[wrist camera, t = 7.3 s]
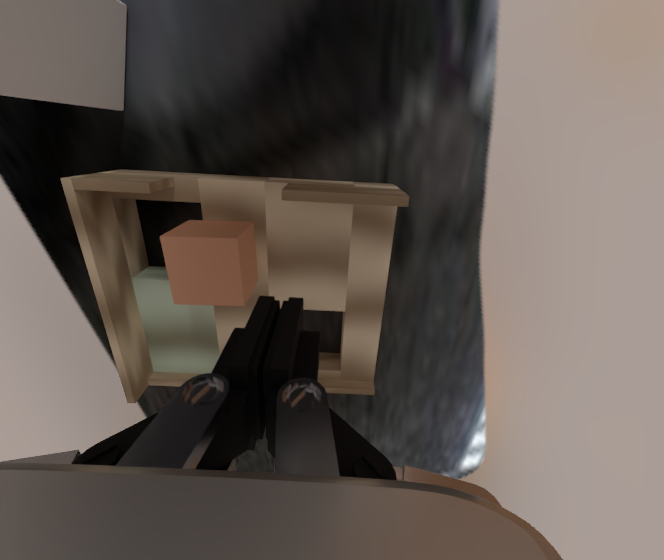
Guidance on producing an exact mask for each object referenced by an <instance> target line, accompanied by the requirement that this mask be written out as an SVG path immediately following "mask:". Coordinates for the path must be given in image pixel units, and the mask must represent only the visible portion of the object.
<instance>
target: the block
mask: <svg viewBox="0 0 664 560" xmlns="http://www.w3.org/2000/svg"><path fill="white" fill-rule="evenodd" d="M160 241H161V245H162V250H163V255H164V259H165V264H166V269H167V274H168V278H169V283H170V288H171V292H172V297H173V302H174V304H181V305H220V306H245V304H246V302H247V300H248V298H249V296H250V295H251V293H252V291H253V289H254V287H255V285H256V284H257V282H258V271H257V258H256V246H255V234H254V222H248V221H210V220H188V221H186V222H184V223H183V224H181V225H179V226H177V227H175V228H174V229H172V230H170V231H168V232H167V233H165V234H163V235H161V236H160Z"/></svg>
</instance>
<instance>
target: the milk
mask: <svg viewBox="0 0 664 560" xmlns="http://www.w3.org/2000/svg"><path fill="white" fill-rule="evenodd" d="M126 18H127V6H126V5H125V4H124V3H122V2H121V1H119V0H0V95H3V96H11V97H18V98H26V99H34V100H41V101H49V102H57V103H64V104H72V105H80V106H87V107H95V108H103V109H110V110H118V111H123V110H124V83H125V51H126Z"/></svg>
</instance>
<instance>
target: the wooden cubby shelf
mask: <svg viewBox="0 0 664 560" xmlns="http://www.w3.org/2000/svg"><path fill="white" fill-rule="evenodd" d="M60 179H61V183H62V186H63V189H64V193H65V196H66V199H67V203H68V206H69V209H70V213H71V216H72V219H73V223H74V226H75V229H76V233H77V236H78V239H79V243H80V246H81V249H82V253H83V256H84V259H85V263H86V266H87V269H88V273H89V276H90V279H91V283H92V286H93V289H94V293H95V296H96V299H97V303H98V306H99V309H100V313H101V316H102V319H103V322H104V326H105V329H106V332H107V336H108V339H109V342H110V346H111V349H112V352H113V356H114V359H115V362H116V366H117V369H118V372H119V376H120V379H121V382H122V386H123V389H124V392H125V396H126V399H127V402H128V403H136V401H137V400H138V399H139V398H140V396H141V395H142V394H143V392H144V391H145V390H146V388H147V387H148V386H149V385H158V386H181V385H182V384H183V383H185V382H186V381H187V380H189V379H191V378H192V377H195V376H197V375H200V374H206V373H211V372H212V370H213V368H214V367H215V365H216V363H217V361H218V359H219V357H220V355H221V353H222V351H223V349H224V347H225V345H226V343H227V341H228V339H229V337H230V335H231V333H232V331H233V330H234V328H245V326H246V324H247V322H248V320H249V317H250V315H251V313H252V311H253V309H254V306H255V304H256V302H257V300H258V298H259V296H274V297H275V300H279V301H280V308H281V307H282V303H283V301H288V299H289V297H296V298H303V300H304V305H303V310H323V311H343V319H342V333H341V346H340V353H329V352H320V353H319V370H318V382H319V383H321V385H322V386H323V387H324V388H325V390H326V393H341V394H364V395H374V392H375V388H374V382H373V381H374V374H375V366H376V359H377V352H378V344H379V337H380V330H381V322H382V315H383V308H384V300H385V293H386V286H387V278H388V271H389V264H390V256H391V249H392V242H393V234H394V227H395V219H396V212H397V206H400V207H408V204H409V197H410V196H408V195H407V194H406V193H404V192H403V191H402V190H401V189H399V188H398V187H397V186H395V185H394V184H386V183H367V182H348V181H330V180H311V179H292V178H273V177H254V176H235V175H216V174H197V173H178V172H159V171H141V170H122V169H120V170H113V171H107V172H100V173H93V174H86V175H79V176H72V177H65V178H60ZM135 199H139V200H158V201H177V202H197V203H201V209H202V217H203V220H210V221H248V222H254V234H255V246H256V258H257V271H258V282H257V284H256V285H255V287H254V289H253V291H252V293H251V295H250V296H249V298H248V300H247V302H246V304H245V306H220V305H181V304H174V302H173V297H172V292H171V288H170V283H169V278H168V274H167V269H166V267H155V266H149V263H148V258H147V253H146V248H145V243H144V239H143V234H142V229H141V224H140V220H139V215H138V210H137V205H136V201H135Z"/></svg>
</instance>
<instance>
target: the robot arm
mask: <svg viewBox="0 0 664 560" xmlns="http://www.w3.org/2000/svg"><path fill="white" fill-rule="evenodd" d="M303 305H304V300H303V298H296V297H289V299H288V301H283V303H282V307H281V310H280V301H279V300H275V297H274V296H259V298H258V300H257V302H256V304H255V306H254V309H253V311H252V313H251V315H250V317H249V320H248V322H247V324H246V326H245V328H234V330H233V331H232V333H231V335H230V337H229V339H228V341H227V343H226V345H225V347H224V349H223V351H222V353H221V355H220V357H219V359H218V361H217V363H216V365H215V367H214V368H213V370H212V372H211V373H206V374H200V375H197V376H195V377H192V378H191V379H189V380H187V381H186V382H185V383H183V384H182V385H181V386H180V387H179V389H178V390H177V391H176V392H175V394H174V395H173V396H172V397H171V398H170V400H169V401H168V402H167V403H166V405H165V406H164V407H163V408H162V409H161V411H160V412H158V413H156V414H154V415H152V416H150V417H148V418H146V419H144V420H142V421H140V422H138V423H137V424H134V425H133V426H131V427H129V428H127V429H125V430H123V431H121V432H119V433H117V434H115V435H113V436H111V437H109V438H107V439H105V440H103V441H101V442H99V443H97V444H96V445H94V446H93V447H91V448H89V449H87V450H86V451H85V452H84V453H83V454H80V452H79V450H74V451H69V452H62V453H55V454H48V455H42V456H35V457H29V458H22V459H16V460H10V461H3V462H0V560H563V559H562V558H561V556H560V555H559V554H558V552H557V551H556V550H555V548H554V547H553V546H552V545H551V544H550V543H549V542H548V541H547V540H546V539H545V537H544V536H543V535H542V534H541V533H539V531H537V530H536V529H535V528H534V527H532V526H531V525H530V524H529V523H527V522H526V521H525V520H523V519H521V518H520V517H518V516H517V515H515V514H513V513H512V512H510V511H508V510H506V509H504V508H502V506H501V505H500V504H499V502H498V501H497V500H496V498H495V497H494V496H493V495H492V494H491V493H489V492H488V491H487V490H486V489H484V488H482V487H479V486H477V485H475V484H472V483H468V482H464V481H461V480H457V479H454V478H450V477H446V476H443V475H439V474H436V473H432V472H428V471H425V470H421V469H417V468H414V467H410V466H407V465H404V469H402V468H398V467H395V466H392V464H391V463H390V462H389V460H388V459H387V458H386V457H385V456H384V455H383V454H382V453H380V452H379V451H378V450H377V449H376V448H375V447H374V446H372V445H371V444H370V443H369V442H368V441H367V440H366V439H364V438H363V437H362V436H361V435H360V434H359V433H358V432H356V431H355V430H354V429H353V428H352V427H351V426H350V425H348V424H347V423H346V422H345V421H344V420H343V419H342V418H340V417H339V416H338V415H337V414H336V413H335V412H334V411H332V410H331V409H330V408H329V404H328V398H327V393H326V390H325V388H324V387H323V386H322V385H321V383H319V382H318V370H319V353H320V332H312V331H303ZM265 427H266V438H267V440H268V451H269V452H270V453H271V455H272V456H273V457H274V458H275V473H263V472H242V471H235V469H236V466H237V463H238V456H239V455H241V454H242V453H243V452H245V451H246V450H254V448H255V444H256V440H257V439H262V438H263V435H264V431H265Z"/></svg>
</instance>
